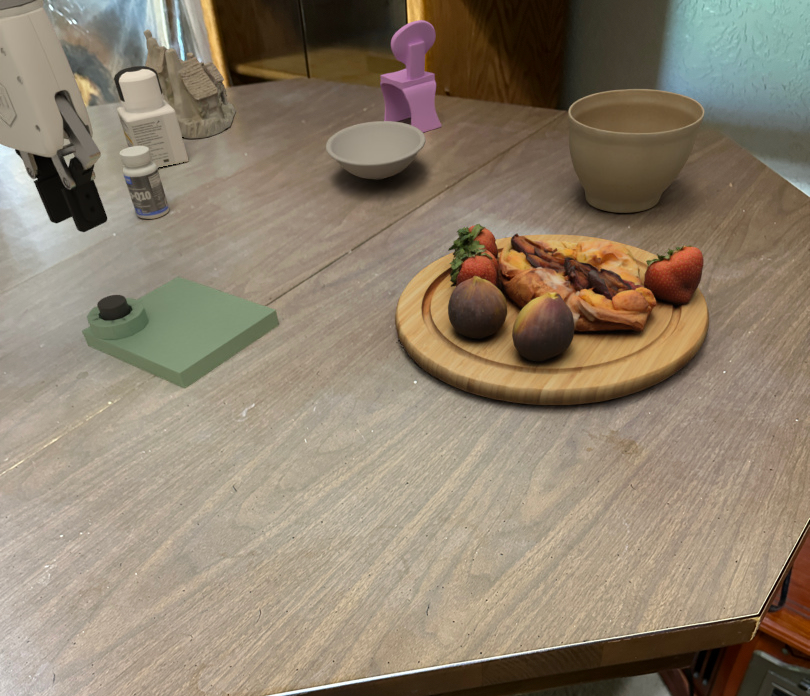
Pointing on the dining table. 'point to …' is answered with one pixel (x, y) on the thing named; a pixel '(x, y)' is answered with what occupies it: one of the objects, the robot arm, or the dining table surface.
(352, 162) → the dish
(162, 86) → the ceramic cottage
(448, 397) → the dining table surface
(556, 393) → the wooden plate
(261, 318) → the scale
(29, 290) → the dining table surface
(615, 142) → the planter bowl
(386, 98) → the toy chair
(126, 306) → the button
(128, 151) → the pill bottle
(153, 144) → the container
